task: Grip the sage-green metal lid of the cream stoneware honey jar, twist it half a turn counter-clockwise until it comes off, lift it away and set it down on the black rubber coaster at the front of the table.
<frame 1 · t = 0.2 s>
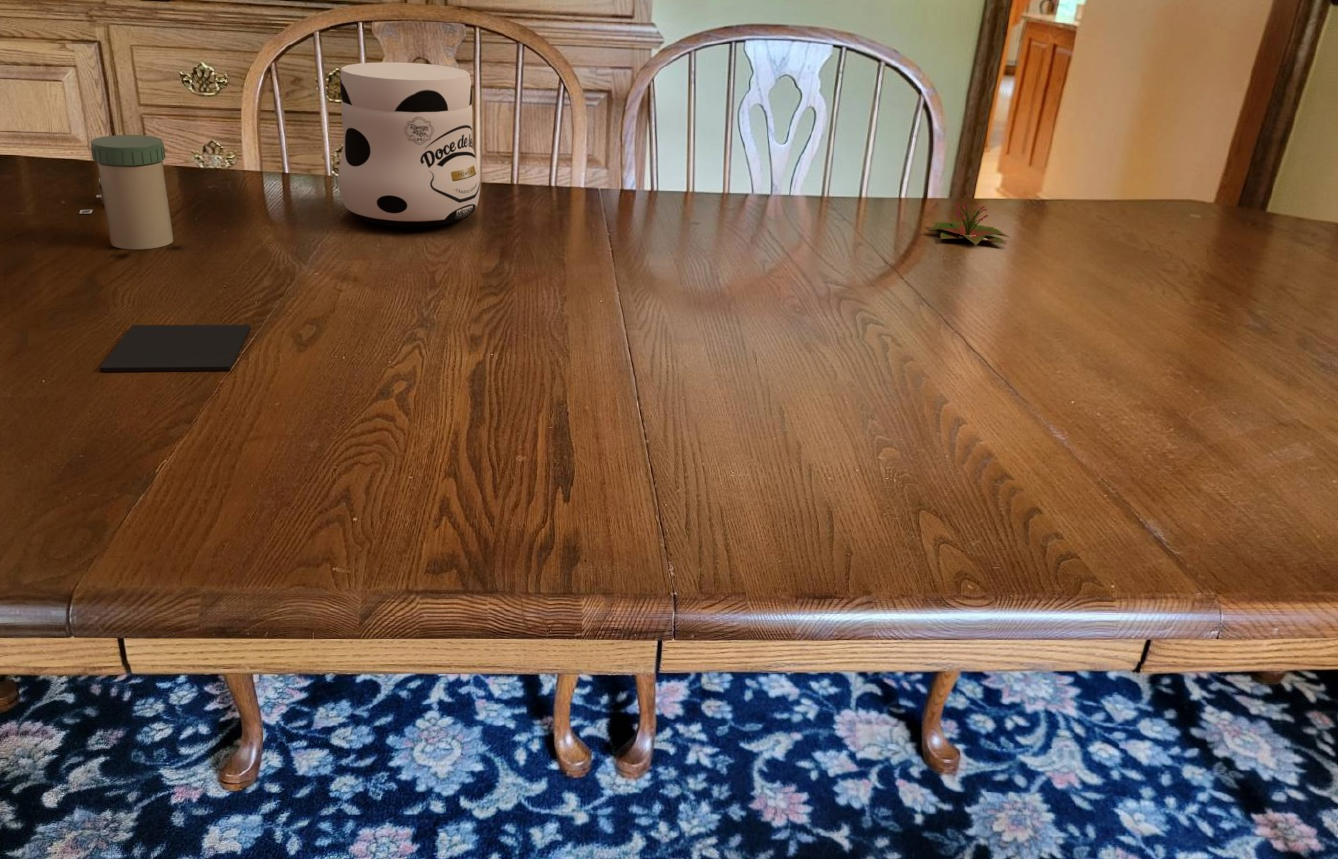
honey lid: (127, 144, 113), point 11 cm above the table, screwed on, not yet turned
house of cards: (109, 204, 132), on the table
coaster: (179, 349, 91), on the table
lily flower: (966, 239, 144), on the table
milk container: (411, 219, 134), on the table
honey jar: (142, 241, 118), on the table
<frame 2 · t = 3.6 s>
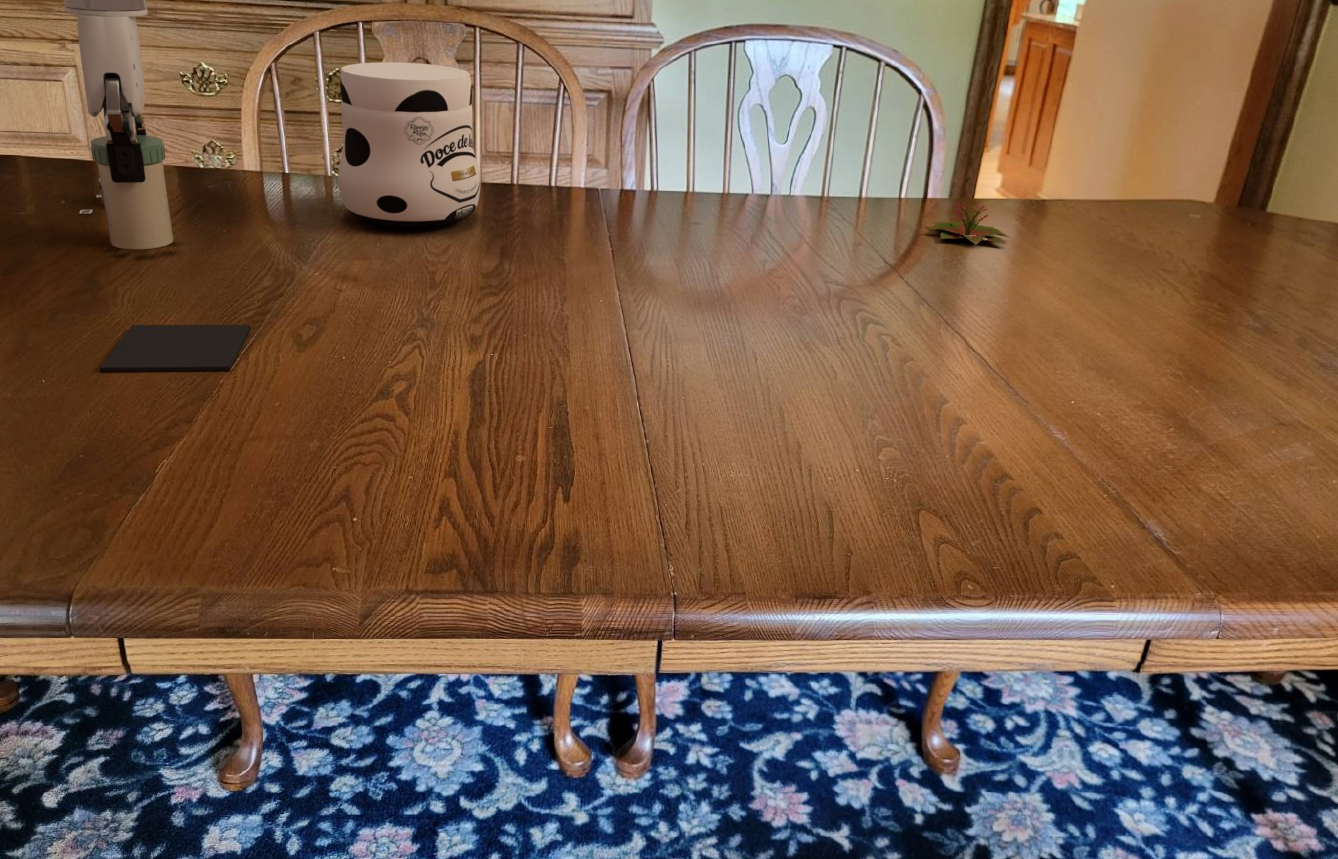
hand: (131, 172, 115), 8 cm above the table, tool pointing down, fingers closed on honey lid, 7 cm apart
honey lid: (127, 144, 113), point 11 cm above the table, screwed on, not yet turned, touching gripper
everything else where it was.
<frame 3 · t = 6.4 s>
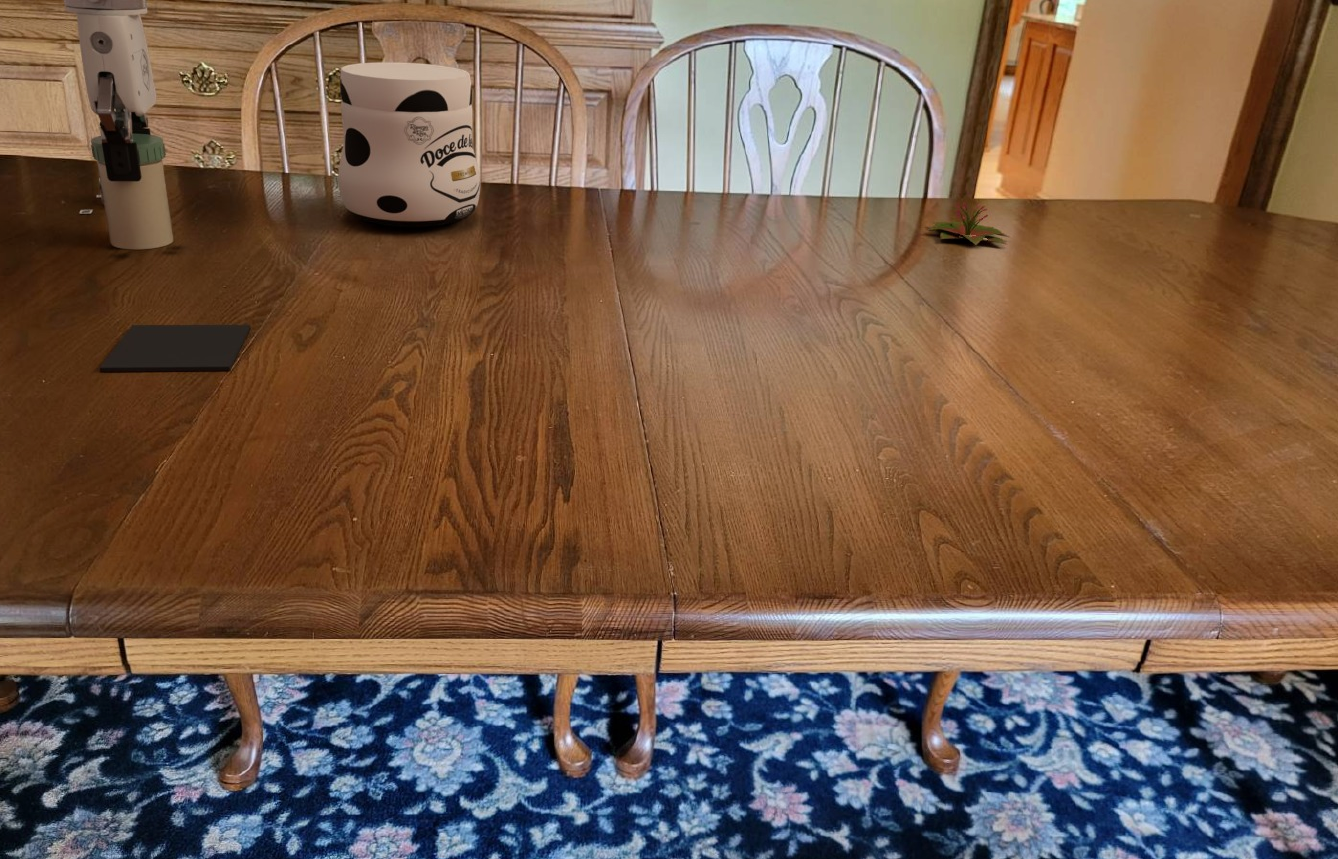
hand: (132, 171, 115), 8 cm above the table, tool pointing down, fingers closed on honey lid, 7 cm apart
honey lid: (127, 143, 113), point 11 cm above the table, off its thread, touching gripper
everything else where it was.
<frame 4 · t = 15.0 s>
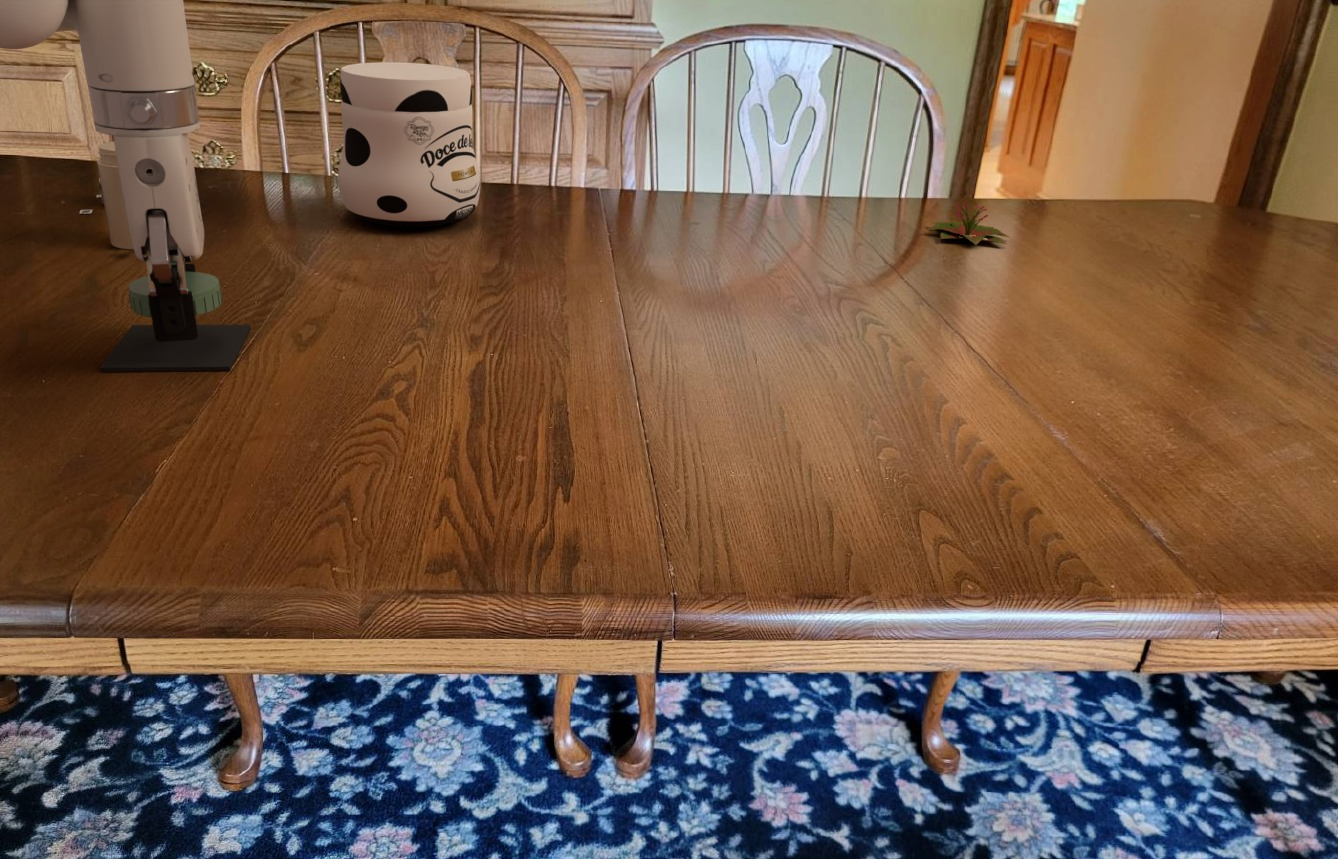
hand: (179, 321, 90), 2 cm above the table, tool pointing down, fingers closed on honey lid, 7 cm apart
honey lid: (174, 288, 89), point 5 cm above the table, off its thread, touching gripper
everything else where it was.
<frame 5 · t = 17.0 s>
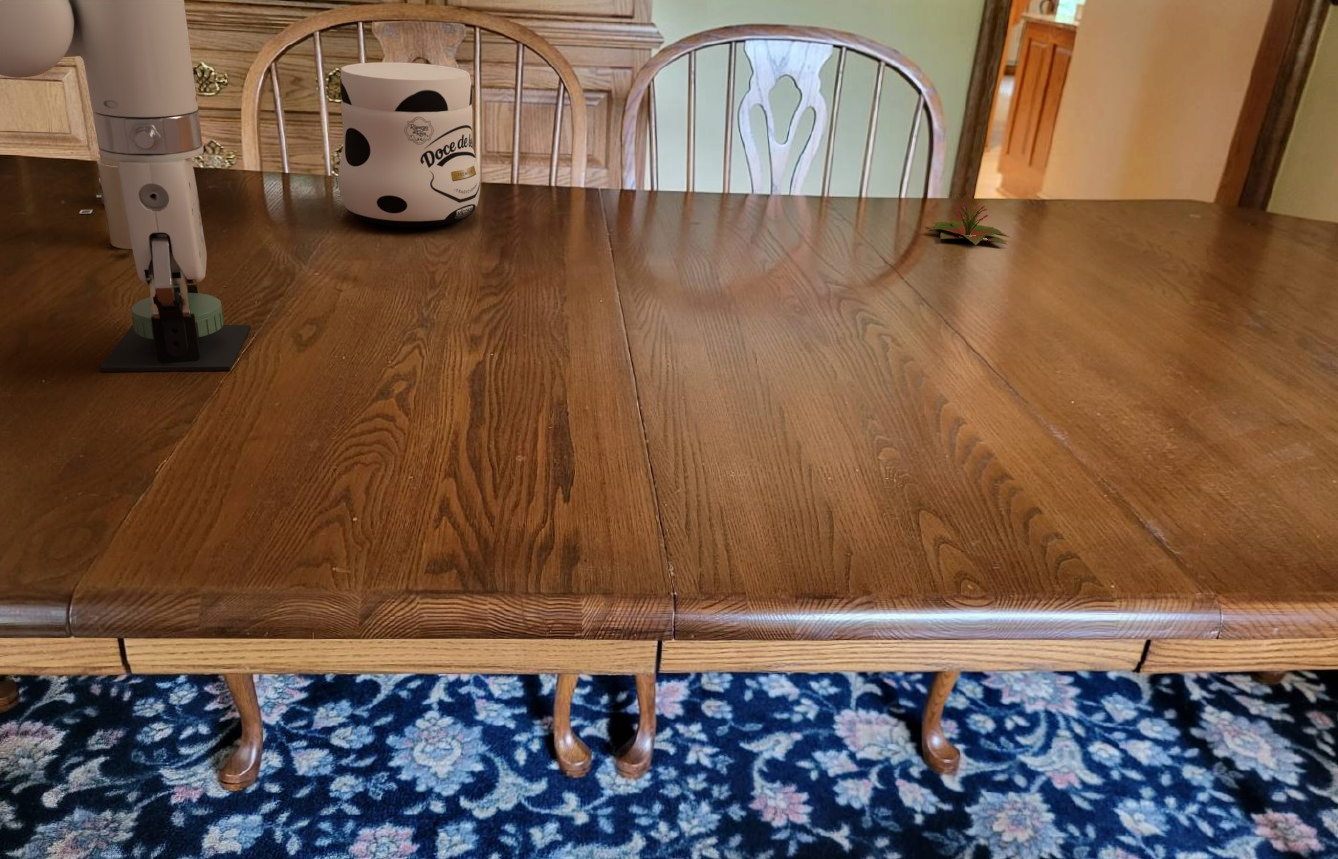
hand: (181, 342, 91), 1 cm above the table, tool pointing down, fingers closed on honey lid, 6 cm apart
honey lid: (177, 309, 90), point 4 cm above the table, off its thread, touching gripper
everything else where it was.
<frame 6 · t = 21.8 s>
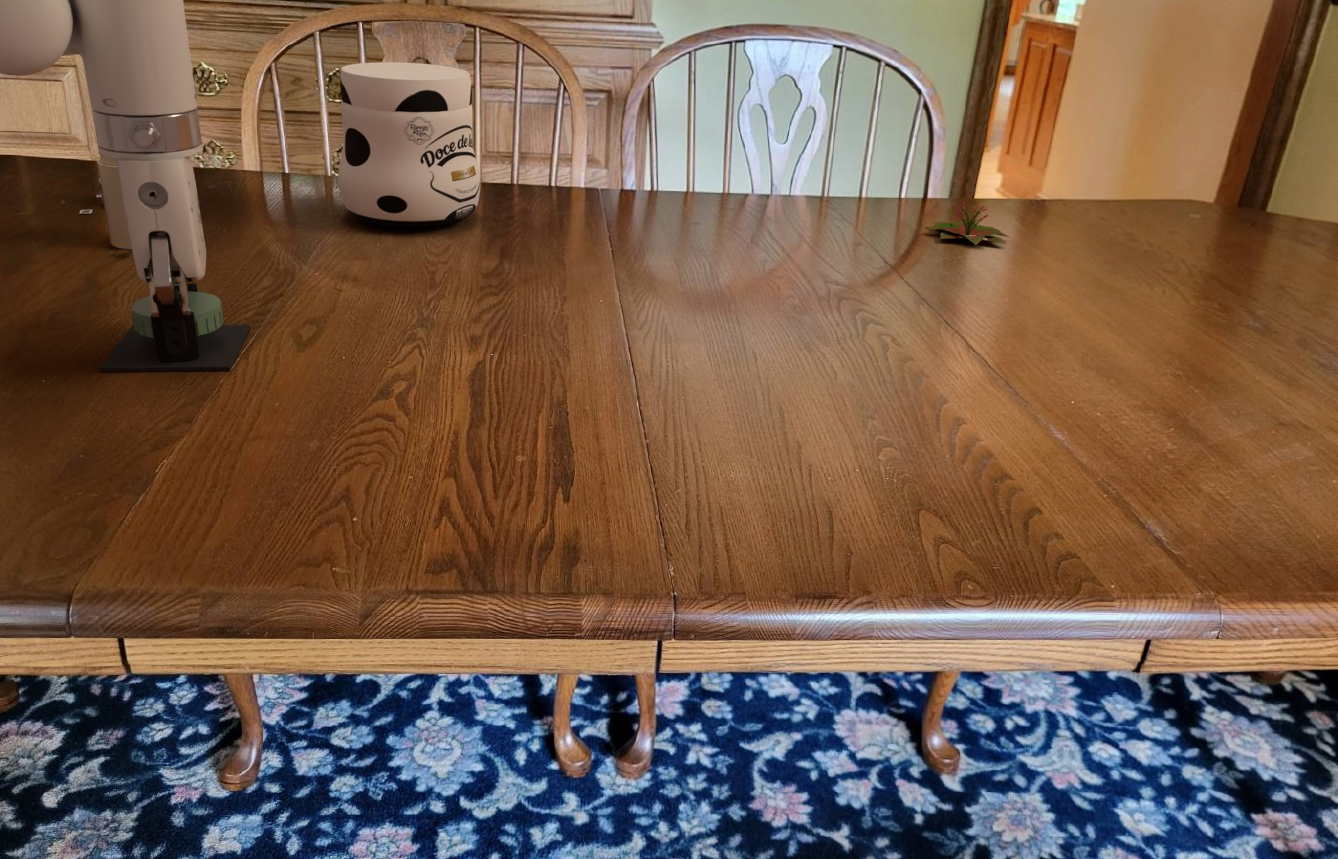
hand: (181, 341, 91), 1 cm above the table, tool pointing down, fingers closed on honey lid, 6 cm apart
honey lid: (177, 308, 90), point 4 cm above the table, off its thread, touching gripper
everything else where it was.
when the fingers open (2 cm above the table, at t = 26.2 s): honey lid drops 3 cm, resting on coaster.
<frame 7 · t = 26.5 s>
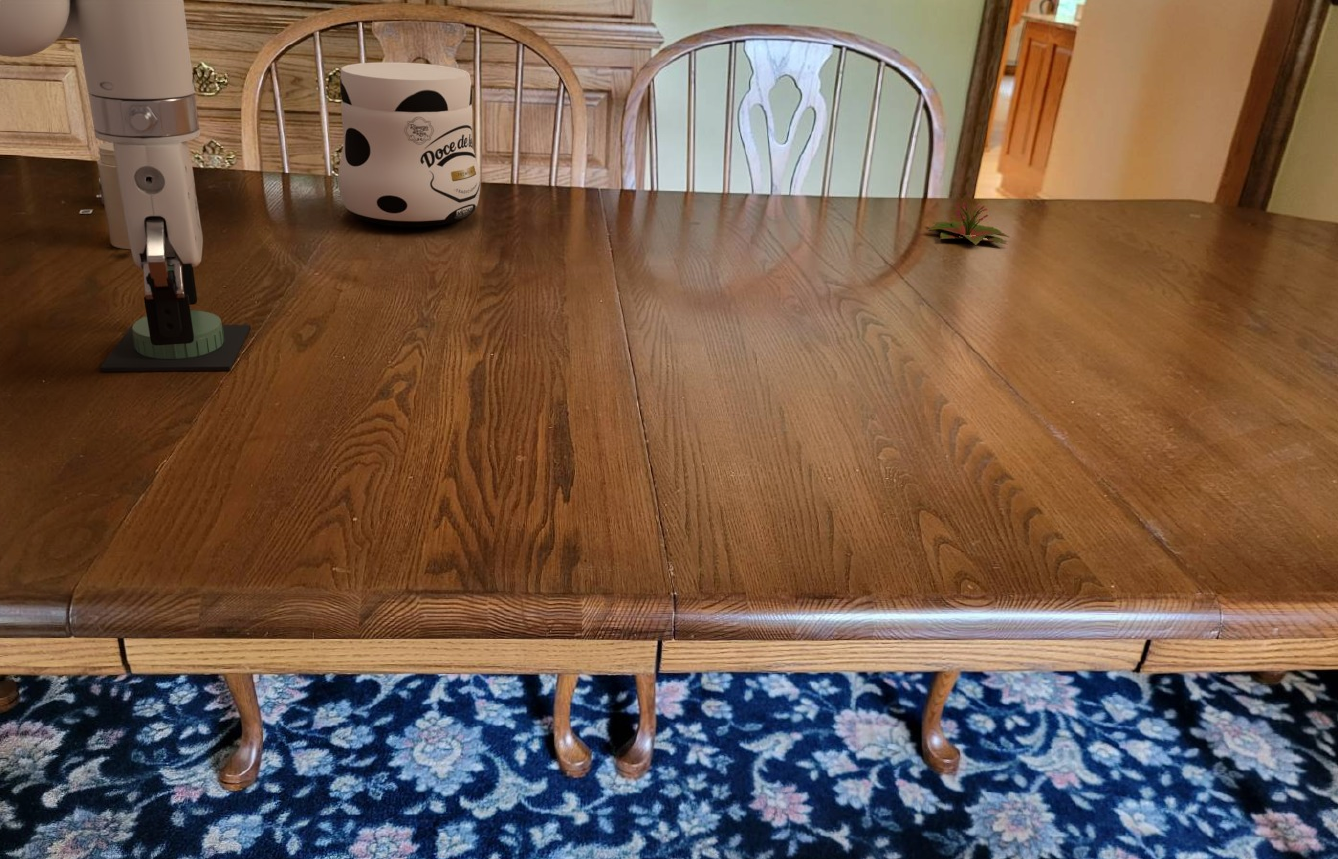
hand: (175, 322, 90), 2 cm above the table, tool pointing down, fingers open, 9 cm apart
honey lid: (177, 327, 90), point 2 cm above the table, off its thread, touching coaster
everything else where it was.
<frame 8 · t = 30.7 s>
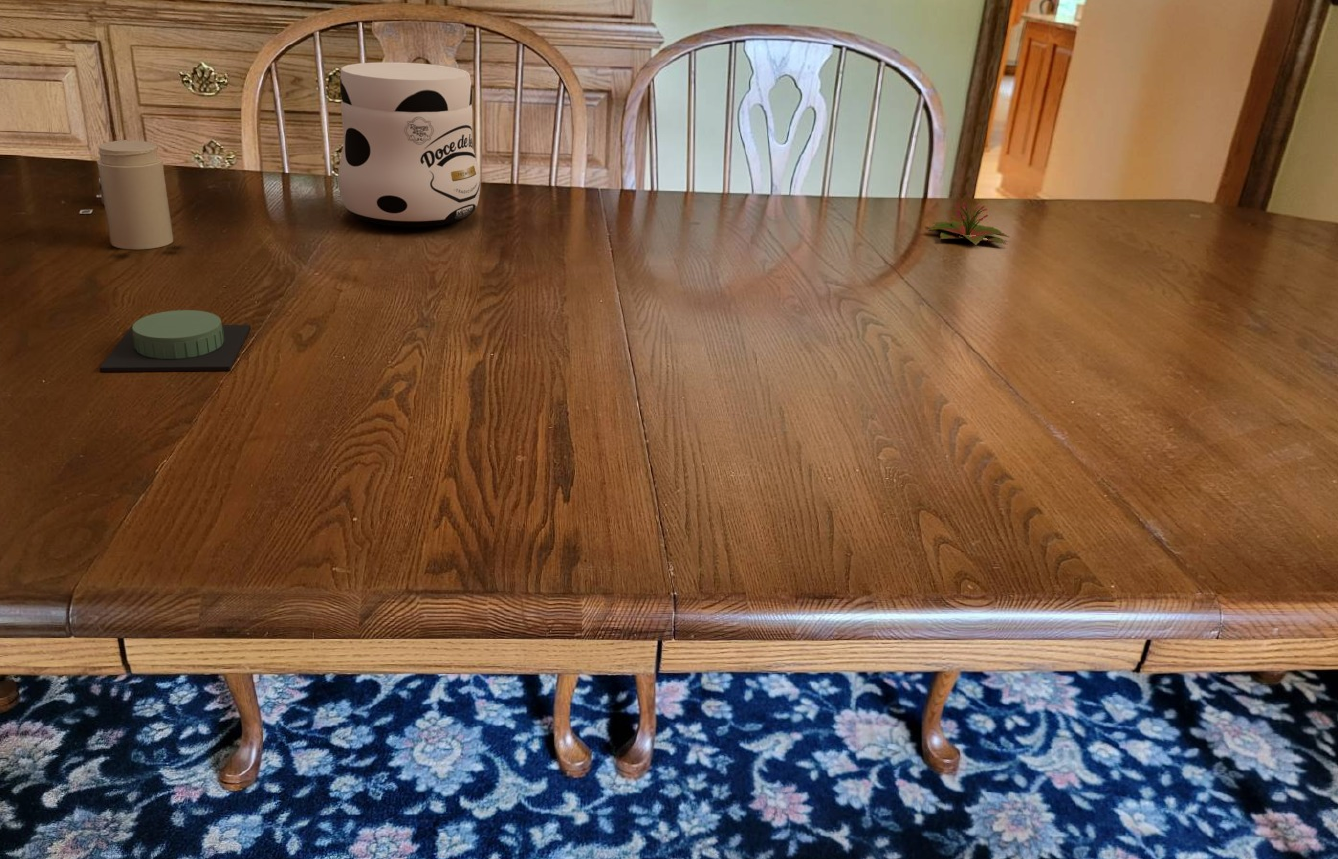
nothing on the table moved.
at the end: honey lid 0.2 cm off-centre on the coaster, point 1.9 cm above the coaster's base; honey lid point 1.9 cm above the table; the gripper is holding nothing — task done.
